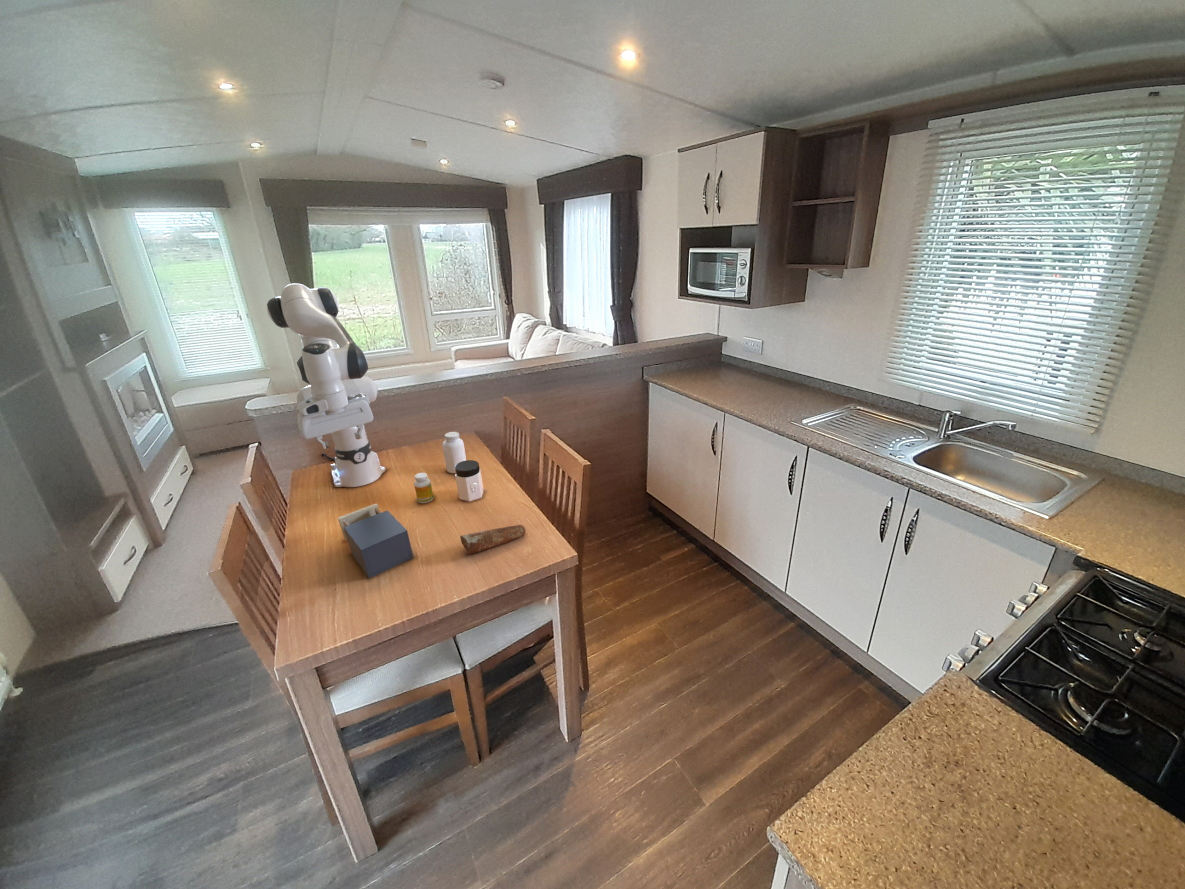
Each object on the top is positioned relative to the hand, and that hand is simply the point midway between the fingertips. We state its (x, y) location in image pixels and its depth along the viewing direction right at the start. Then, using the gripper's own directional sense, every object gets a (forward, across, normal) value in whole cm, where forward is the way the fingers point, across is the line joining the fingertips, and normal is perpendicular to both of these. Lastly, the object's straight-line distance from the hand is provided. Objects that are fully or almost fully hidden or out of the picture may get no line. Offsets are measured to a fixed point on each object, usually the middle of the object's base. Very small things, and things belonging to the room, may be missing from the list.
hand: (343, 443), depth 145 cm
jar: (+28, -33, +12) cm, 45 cm away
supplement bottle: (+28, -20, +3) cm, 34 cm away
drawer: (+27, +3, +13) cm, 30 cm away
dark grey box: (+28, +3, +24) cm, 37 cm away
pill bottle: (+28, -39, -10) cm, 49 cm away
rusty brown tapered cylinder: (+28, -24, +42) cm, 56 cm away
